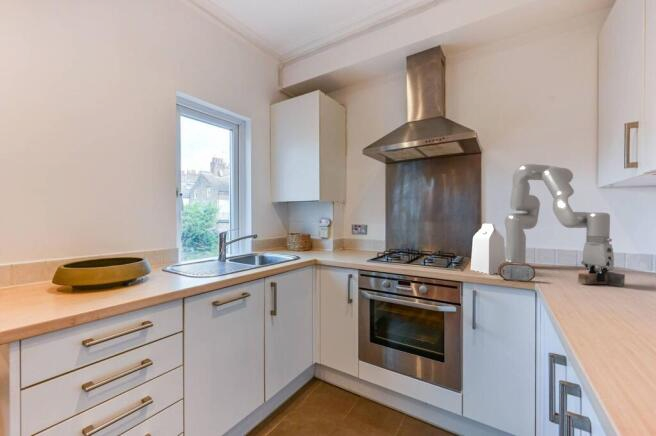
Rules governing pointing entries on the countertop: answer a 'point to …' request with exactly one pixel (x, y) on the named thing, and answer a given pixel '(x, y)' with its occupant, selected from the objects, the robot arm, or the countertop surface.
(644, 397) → the countertop surface
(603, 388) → the countertop surface
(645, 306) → the countertop surface
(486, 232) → the milk
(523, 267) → the tin
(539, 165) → the robot arm
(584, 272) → the tile
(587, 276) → the brown angular block
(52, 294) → the countertop surface
